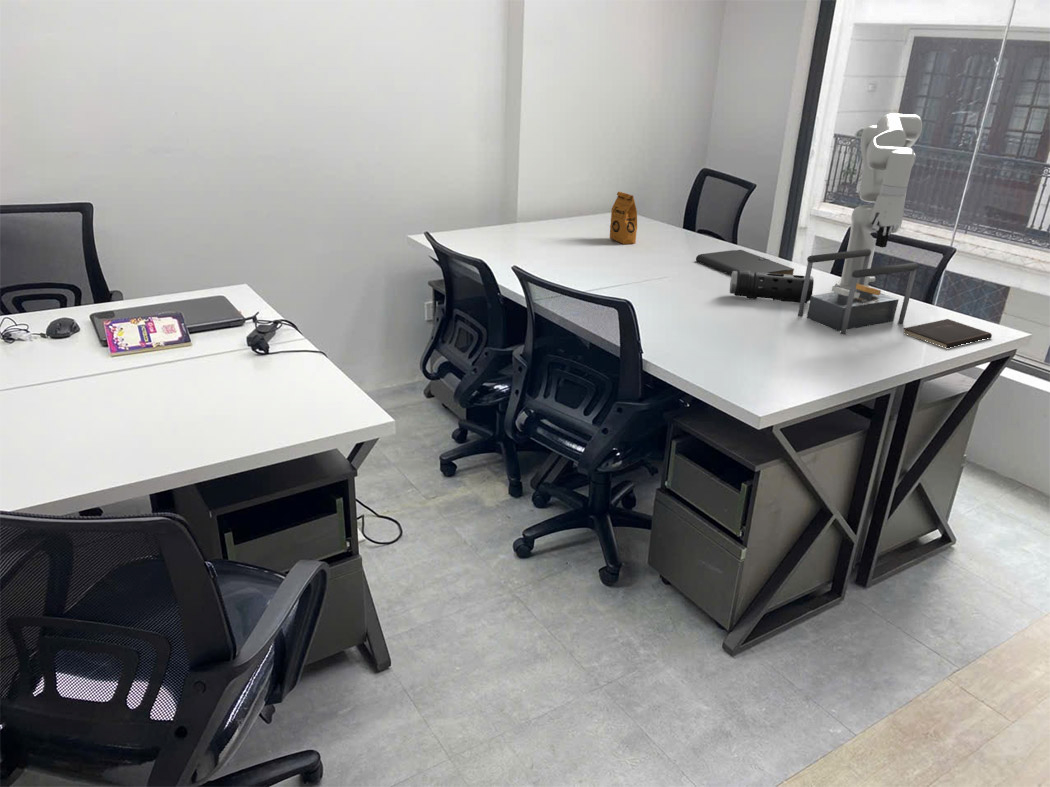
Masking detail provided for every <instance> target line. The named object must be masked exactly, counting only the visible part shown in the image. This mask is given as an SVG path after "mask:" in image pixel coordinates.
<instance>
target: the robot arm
mask: <svg viewBox="0 0 1050 787" xmlns="http://www.w3.org/2000/svg"><path fill="white" fill-rule="evenodd" d="M922 131H923V121H922V118H921V117H920V116H919V115H917V114H905V113H904V114H903V113H888V114H885V115H883V116H881V117H880V118H879V120H878V121H877V123H876V125H875V124H874V125H869V126H867V127H865V128H864V129H863V130H862V132H861V137H860V152H861V158H862V171H861V178H860V179H861V180H860V186H859V198H860V200H861V201H863V202H866V203H874V204H873V205H871V204H864V205H859V206H858V205H857V207H855V208H854V209H853V210H852V213H851V217H850V218H851V219H850V220H851V221H850V222H851V223H850V233H849V240H848V243H847V244H848V245H847V249H846V252H847V251H856V250H864V249H870V250H871V255H870V258H869V263H868V267H867V269H870V268H872V262H873V258H874V254H875V249H876V246H877V247H879V248H883V249H884V248H886V247H887V245H888V240H889V237H890V235H891V234H896V233H898V232H899V230H900V229H901V227H902V224H903V219H904V218H903V217H904V213H905V212H904V211H905V204H906V196H907V190H908V185H909V182H910V176H911V172H912V169H913V166H914V165H915V162H916V157H917V156H916V153H915V151H914V150H913V149H912V147H913V146H914V145H915V143H916V142H917V141H918V139H919V138H920V136H921V134H922ZM872 233H876V238H875V239H876V240H875V239H874V236H872V235H871V234H872ZM864 258H865V256H864V257H856V258H848V259H844V264H843V268H842V273H841V277H840V280H838V281H836V282H835V287H839V288H844V289H849V290H850V287H851V282H852V277H853V276H852V272H853V271H855V270H862V267H863V263H864ZM859 281H860V278H858V280H857V284H859ZM873 282H876V276H867V277H865V281H864V286H869V287H871V286H870V285H869V283H873Z"/></svg>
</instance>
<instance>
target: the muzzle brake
mask: <svg viewBox="0 0 1050 787" xmlns="http://www.w3.org/2000/svg"><path fill="white" fill-rule="evenodd" d="M804 280H805V275H798V274H793V275H788V274H775V273H764V272H755V273H751V271H749V270H737V271H732V275H730V283H729V294H731V295H732V294H733V295H734V296H735V297H744V298H745V297H746V299H749V300H757V299H759V298H760V299H771V300H772V301H780V302H785V303H786V302H787V303H799V304H800V301H801V296H802V291H803V285H804ZM814 284H815V283H814V276H811V275H810V280H809V286H808V291H807V296H806V301H805V304H807V303H808V302H810V298H811V296H813V291H814Z"/></svg>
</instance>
